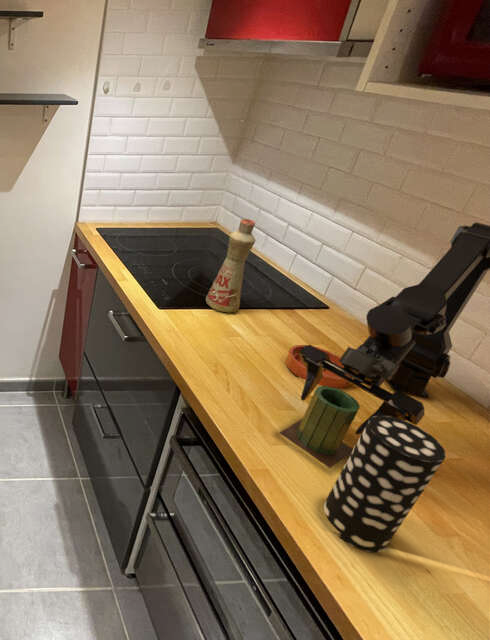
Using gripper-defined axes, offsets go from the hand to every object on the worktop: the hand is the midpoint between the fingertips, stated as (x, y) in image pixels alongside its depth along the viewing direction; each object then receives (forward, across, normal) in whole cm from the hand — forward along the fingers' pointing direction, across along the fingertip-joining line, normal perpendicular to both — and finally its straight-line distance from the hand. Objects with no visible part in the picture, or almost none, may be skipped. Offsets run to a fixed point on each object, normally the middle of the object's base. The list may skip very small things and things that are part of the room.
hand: (328, 415), depth 84 cm
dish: (-11, -12, +22) cm, 28 cm away
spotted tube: (+14, +12, -3) cm, 19 cm away
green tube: (+5, 0, +5) cm, 7 cm away
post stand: (+5, 0, +6) cm, 8 cm away
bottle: (-16, -40, +27) cm, 51 cm away
